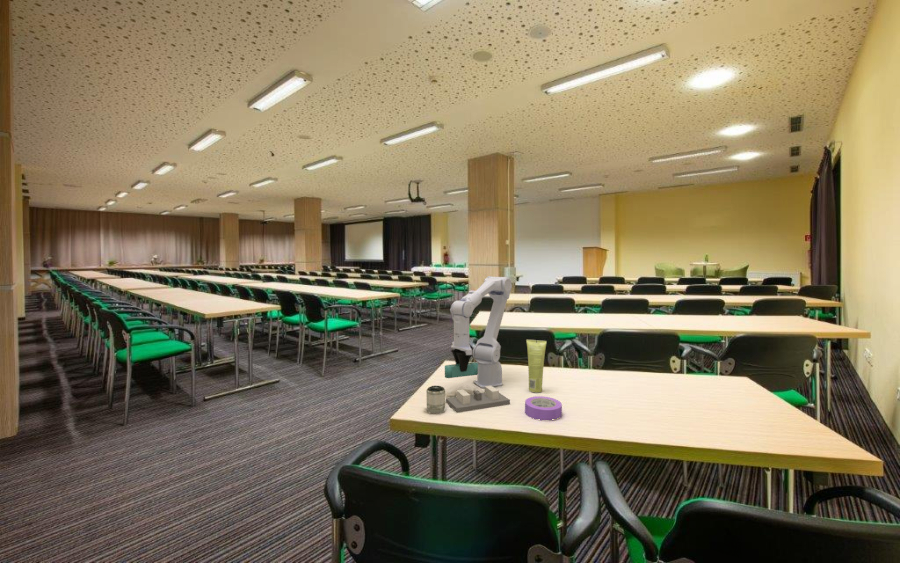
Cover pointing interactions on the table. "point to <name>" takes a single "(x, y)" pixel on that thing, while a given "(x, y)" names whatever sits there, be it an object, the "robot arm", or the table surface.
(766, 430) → the table surface
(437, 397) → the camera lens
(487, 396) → the display stand
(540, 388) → the tube
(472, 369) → the teal dome-capped pillar
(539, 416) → the masking tape
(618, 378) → the table surface
